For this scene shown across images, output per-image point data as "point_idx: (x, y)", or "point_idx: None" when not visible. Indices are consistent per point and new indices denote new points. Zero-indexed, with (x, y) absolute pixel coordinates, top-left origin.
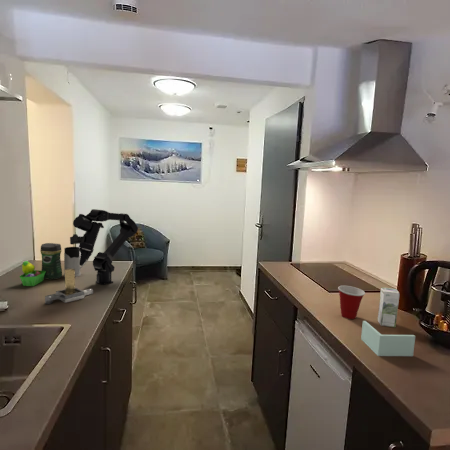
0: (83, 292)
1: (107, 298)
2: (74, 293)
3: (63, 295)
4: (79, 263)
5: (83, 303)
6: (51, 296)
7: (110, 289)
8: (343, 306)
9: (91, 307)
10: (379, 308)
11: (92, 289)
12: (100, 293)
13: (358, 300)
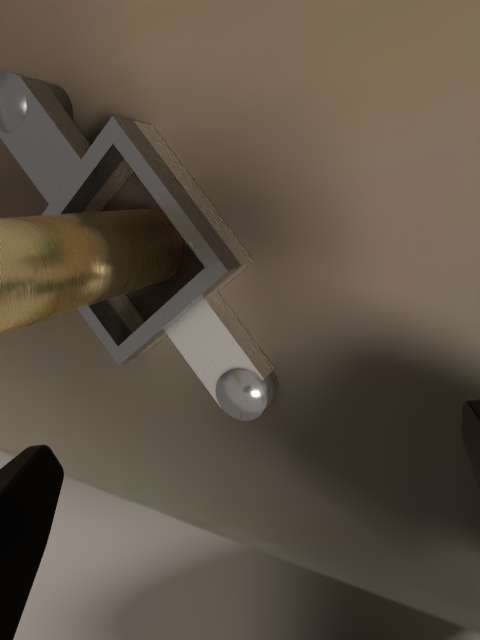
0: (117, 358)
1: (147, 485)
2: None
3: None
4: (20, 454)
5: (67, 348)
6: (4, 129)
7: (338, 539)
8: None
9: (23, 392)
10: None
11: (243, 417)
12: (243, 457)
13: None
